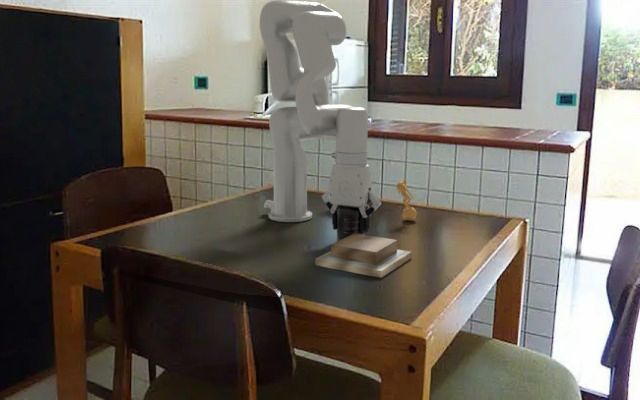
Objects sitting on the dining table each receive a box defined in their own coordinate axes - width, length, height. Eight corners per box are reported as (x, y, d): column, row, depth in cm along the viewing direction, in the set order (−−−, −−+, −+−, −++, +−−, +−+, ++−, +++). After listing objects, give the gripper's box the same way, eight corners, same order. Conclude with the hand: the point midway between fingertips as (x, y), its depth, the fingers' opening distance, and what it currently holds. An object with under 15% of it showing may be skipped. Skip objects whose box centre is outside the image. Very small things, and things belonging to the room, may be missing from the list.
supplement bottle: (335, 239, 159) (335, 192, 157) (361, 238, 160) (362, 192, 157) (338, 246, 152) (338, 198, 150) (366, 246, 153) (366, 198, 150)
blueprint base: (315, 265, 138) (315, 245, 137) (349, 247, 152) (349, 229, 151) (381, 277, 130) (381, 257, 129) (411, 258, 144) (412, 239, 143)
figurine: (422, 223, 175) (424, 181, 173) (403, 225, 173) (405, 182, 171) (408, 216, 183) (409, 176, 180) (389, 218, 181) (391, 177, 178)
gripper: (312, 158, 153) (312, 229, 157) (377, 163, 144) (375, 238, 148) (328, 154, 159) (327, 222, 163) (390, 159, 150) (388, 231, 154)
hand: (350, 229), depth 155 cm, fingers closed on supplement bottle, 6 cm apart
